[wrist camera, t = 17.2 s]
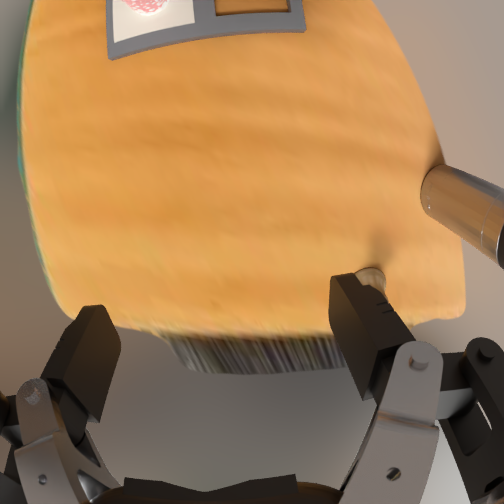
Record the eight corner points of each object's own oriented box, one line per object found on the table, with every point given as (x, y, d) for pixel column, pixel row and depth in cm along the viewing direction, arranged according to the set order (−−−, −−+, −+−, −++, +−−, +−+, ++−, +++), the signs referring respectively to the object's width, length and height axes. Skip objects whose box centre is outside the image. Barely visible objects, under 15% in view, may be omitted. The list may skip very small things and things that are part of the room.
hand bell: (331, 300, 46) (368, 373, 31) (361, 260, 43) (412, 325, 28) (365, 314, 48) (404, 380, 34) (393, 278, 45) (443, 338, 31)
